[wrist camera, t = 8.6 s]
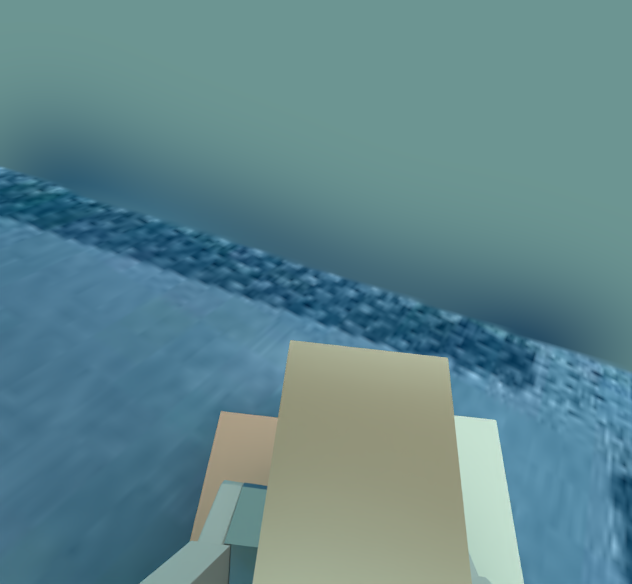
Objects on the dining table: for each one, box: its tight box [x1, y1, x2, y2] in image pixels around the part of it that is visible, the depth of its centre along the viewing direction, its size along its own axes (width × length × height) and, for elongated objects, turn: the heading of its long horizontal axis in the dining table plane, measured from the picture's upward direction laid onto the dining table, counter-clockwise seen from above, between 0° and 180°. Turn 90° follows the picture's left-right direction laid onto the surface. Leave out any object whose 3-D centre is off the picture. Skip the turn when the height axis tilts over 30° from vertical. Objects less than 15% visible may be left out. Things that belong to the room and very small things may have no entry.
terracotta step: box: [190, 411, 278, 541], centre depth 21 cm, size 10×6×3 cm, turn 174°
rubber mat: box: [454, 415, 524, 584], centre depth 22 cm, size 14×13×1 cm
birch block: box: [252, 340, 472, 584], centre depth 8 cm, size 6×2×11 cm, turn 174°
